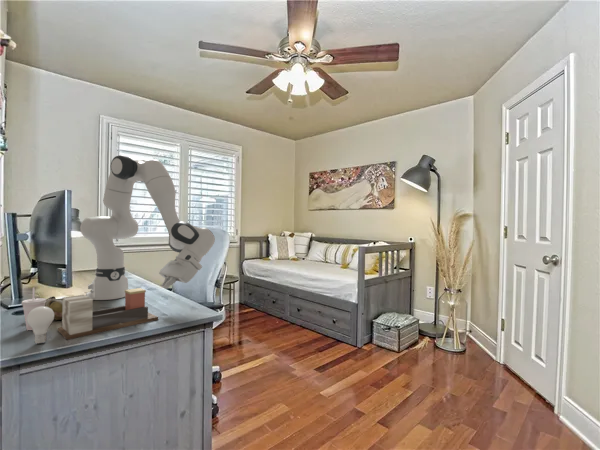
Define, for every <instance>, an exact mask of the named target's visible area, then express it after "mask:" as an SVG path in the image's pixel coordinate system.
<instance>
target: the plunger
mask: <svg viewBox="0 0 600 450" xmlns="http://www.w3.org/2000/svg"><path fill="white" fill-rule="evenodd" d="M146 292H147V291H146V289H144V288H141V287H138V288H131V289H129V288H128V290H125V297H124V298H125V301H124V306H125V310H129V309H135V308H140V307H146V302H145V301H146Z"/></svg>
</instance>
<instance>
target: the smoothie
mask: <svg viewBox="0 0 600 450" xmlns="http://www.w3.org/2000/svg"><path fill="white" fill-rule="evenodd" d="M35 295H36V288H35V287H32V298H29V299H25V300H22V301H21V305H22V308H23V309H22V310H23V315H24V320H25V326H26V331H28V330H32V331H33V329H32V328H31V327H30V326H29V325H28V323H27V315H28V314H29V312H30V311H31V310H33V309H34V308H36V307H40V306H45V302H46V299H47V298H45V297H44V298H43V297H36V296H35ZM35 297H36V298H35Z"/></svg>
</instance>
